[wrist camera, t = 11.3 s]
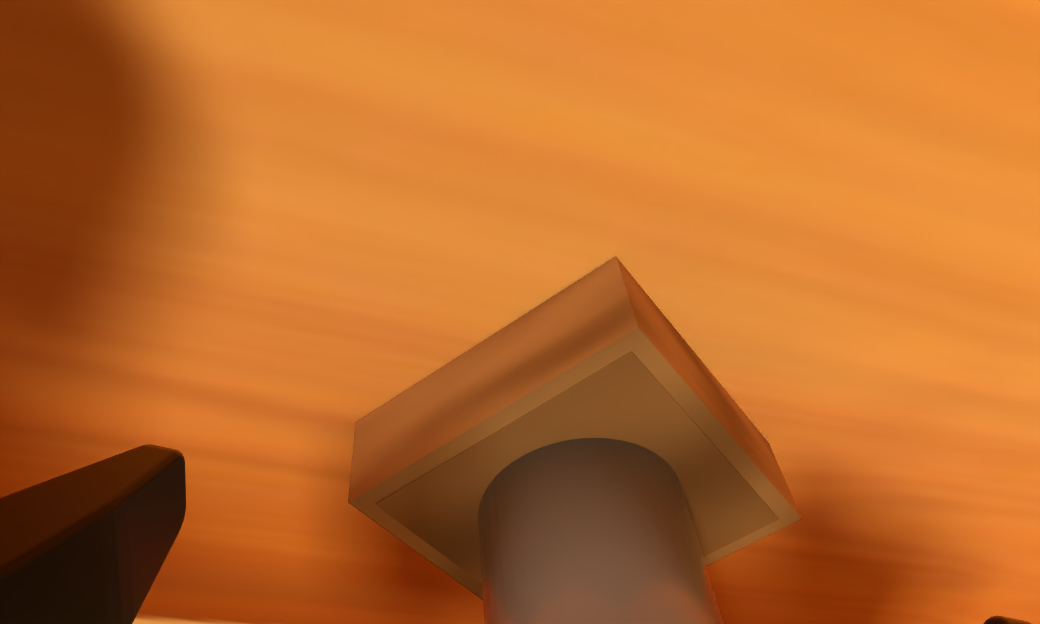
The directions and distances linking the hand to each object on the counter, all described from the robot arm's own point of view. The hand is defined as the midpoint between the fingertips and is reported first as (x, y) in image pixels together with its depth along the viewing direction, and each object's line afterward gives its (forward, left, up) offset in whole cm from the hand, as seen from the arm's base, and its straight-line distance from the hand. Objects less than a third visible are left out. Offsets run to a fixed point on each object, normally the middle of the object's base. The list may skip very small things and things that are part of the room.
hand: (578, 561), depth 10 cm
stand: (+10, -5, -13) cm, 17 cm away
